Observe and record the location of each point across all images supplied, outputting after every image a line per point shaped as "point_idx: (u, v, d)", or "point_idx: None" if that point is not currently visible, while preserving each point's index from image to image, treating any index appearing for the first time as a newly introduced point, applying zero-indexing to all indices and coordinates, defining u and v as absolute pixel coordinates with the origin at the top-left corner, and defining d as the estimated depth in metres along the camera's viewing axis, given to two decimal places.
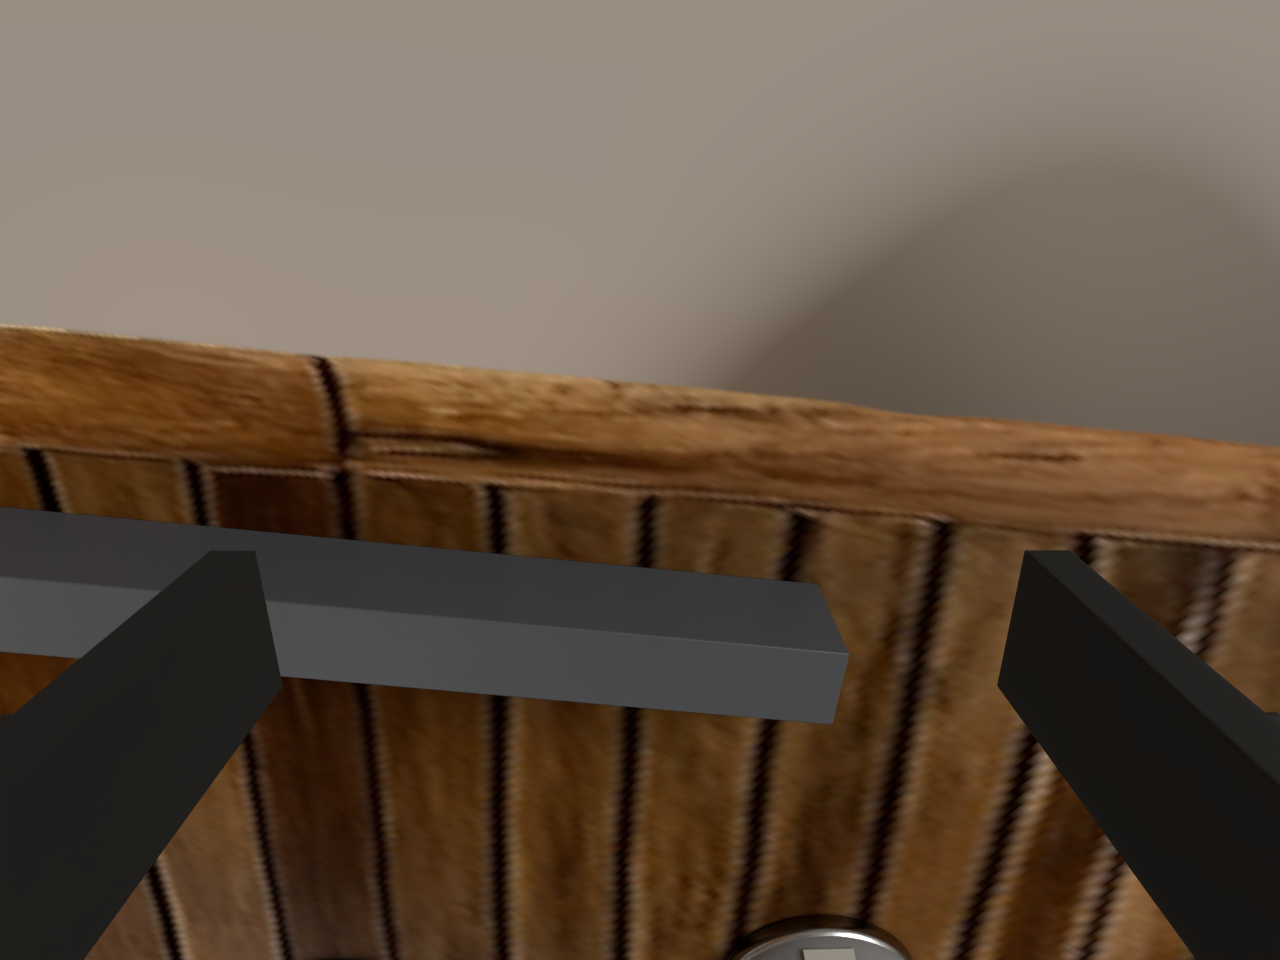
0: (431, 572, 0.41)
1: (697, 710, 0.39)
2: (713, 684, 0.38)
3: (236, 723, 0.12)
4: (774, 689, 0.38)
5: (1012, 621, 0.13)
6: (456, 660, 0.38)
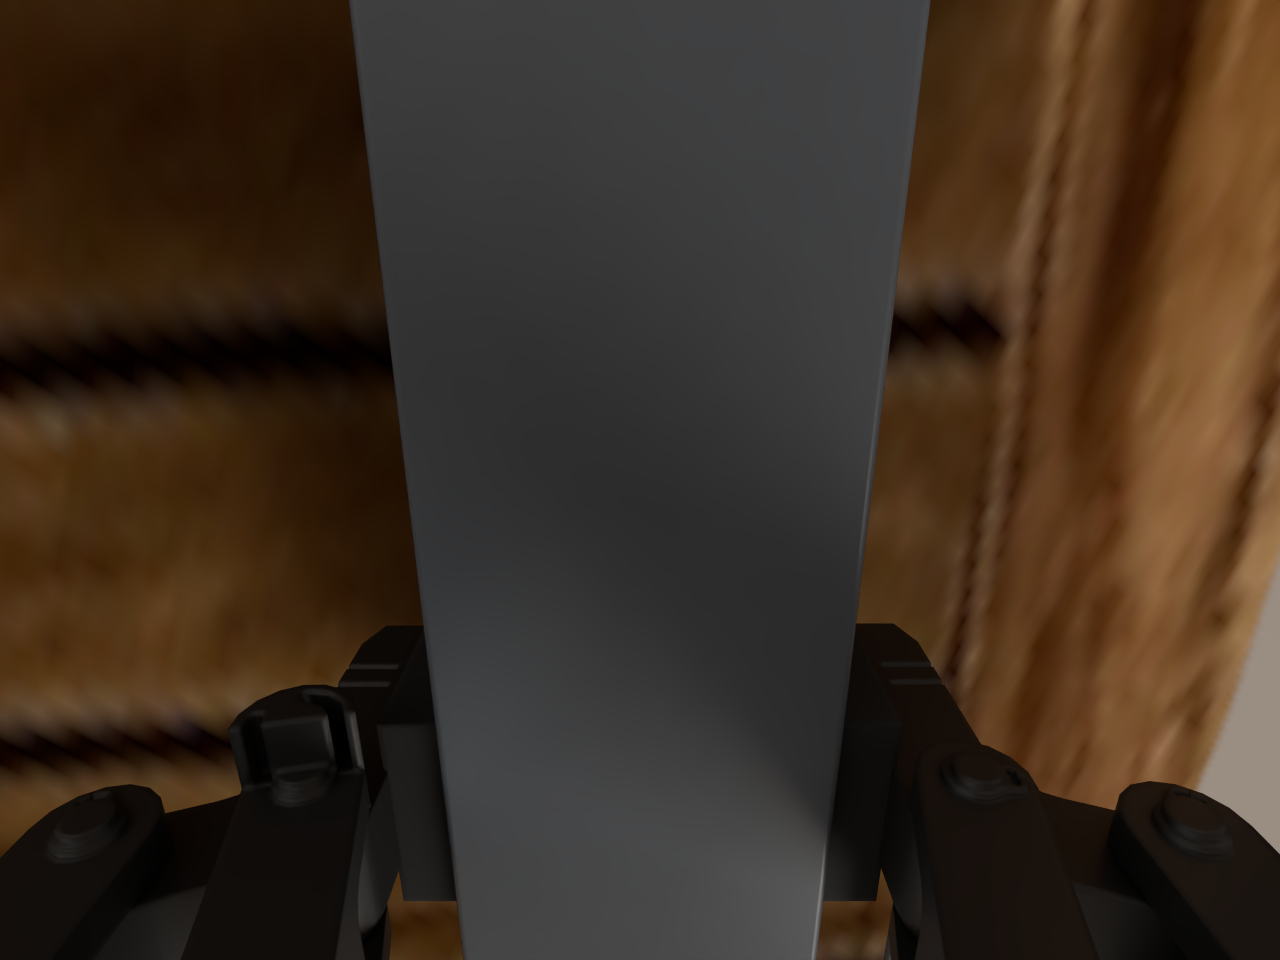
0: None
1: (453, 755, 0.08)
2: (608, 798, 0.08)
3: None
4: None
5: None
6: None
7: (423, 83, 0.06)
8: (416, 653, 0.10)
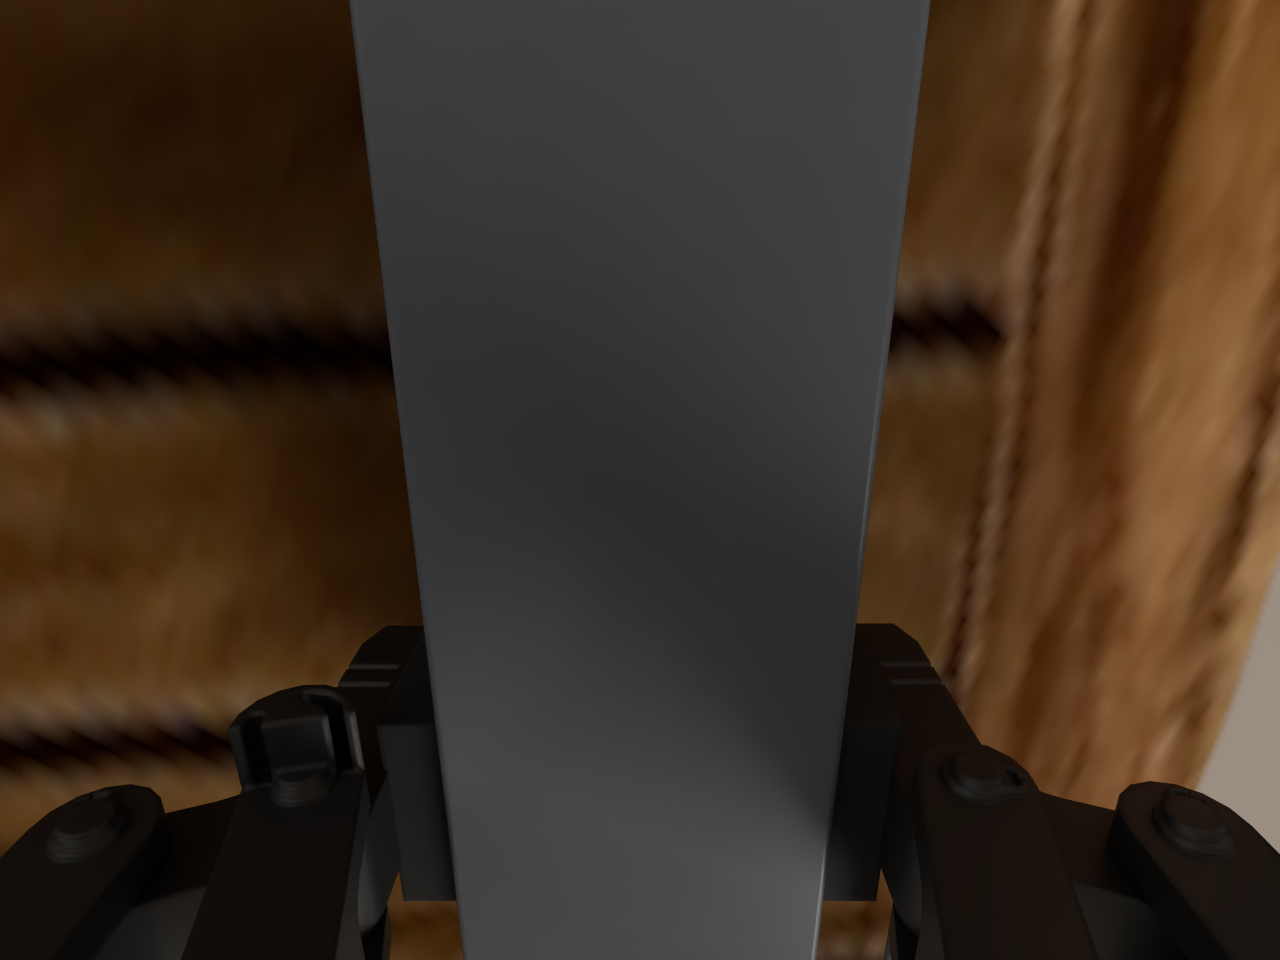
0: None
1: (453, 755, 0.08)
2: (608, 799, 0.08)
3: None
4: None
5: None
6: None
7: (423, 83, 0.06)
8: (416, 654, 0.10)
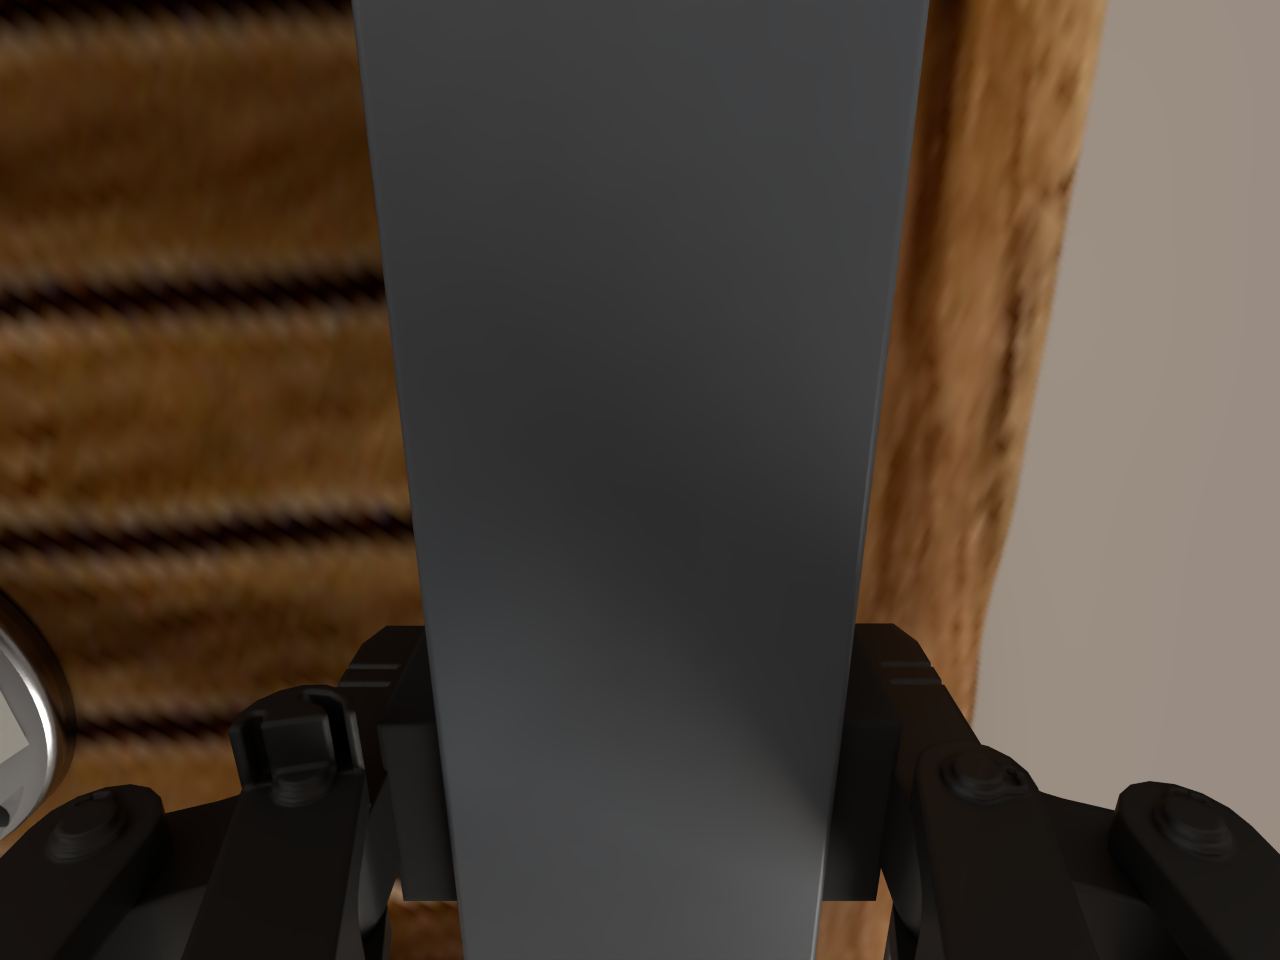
0: None
1: (454, 753, 0.08)
2: (608, 797, 0.08)
3: None
4: None
5: None
6: None
7: (425, 84, 0.06)
8: (416, 654, 0.10)
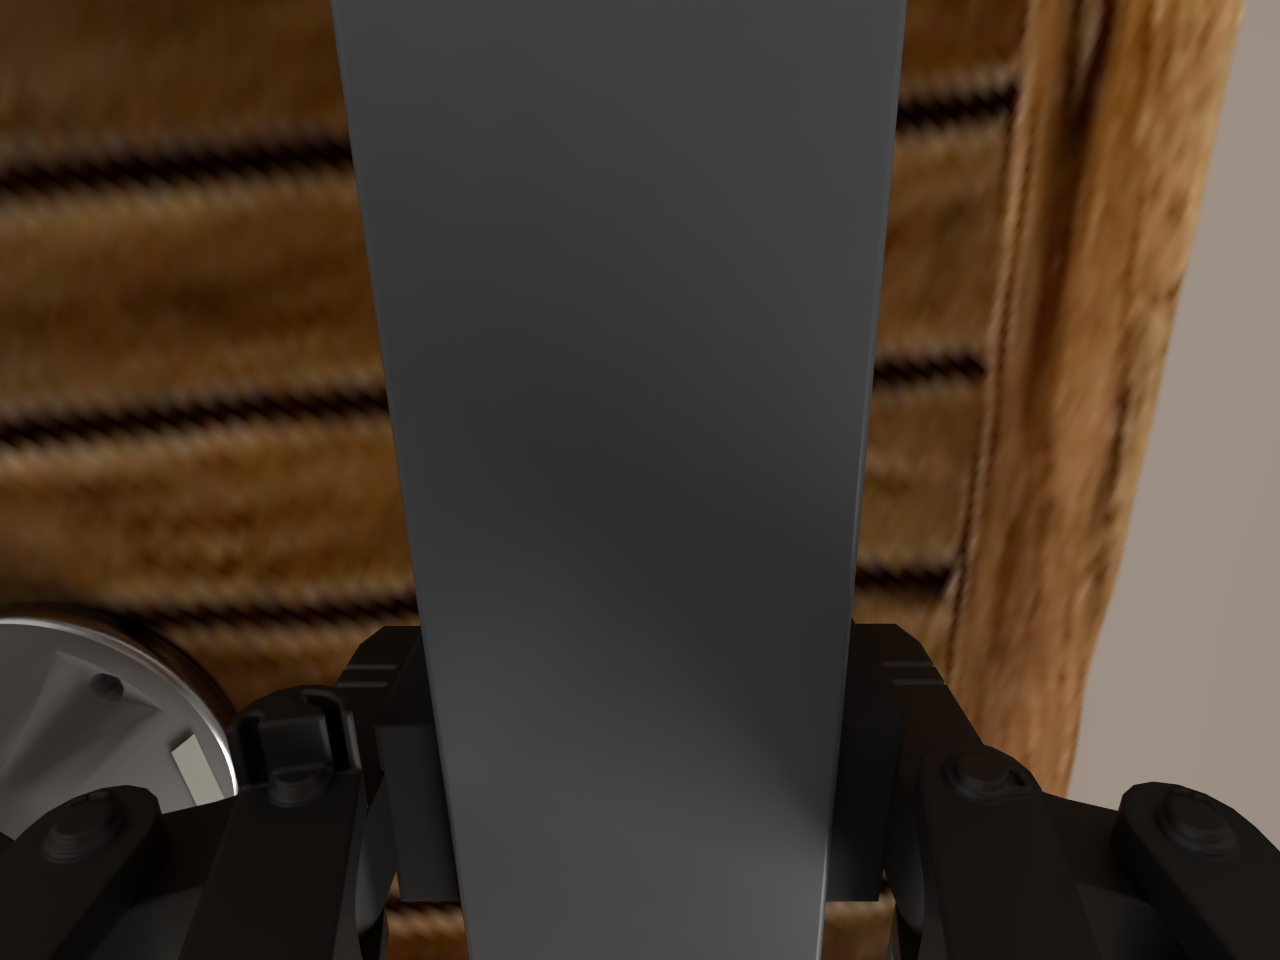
0: None
1: (454, 755, 0.08)
2: (609, 796, 0.08)
3: None
4: None
5: None
6: None
7: (406, 88, 0.06)
8: (414, 654, 0.10)
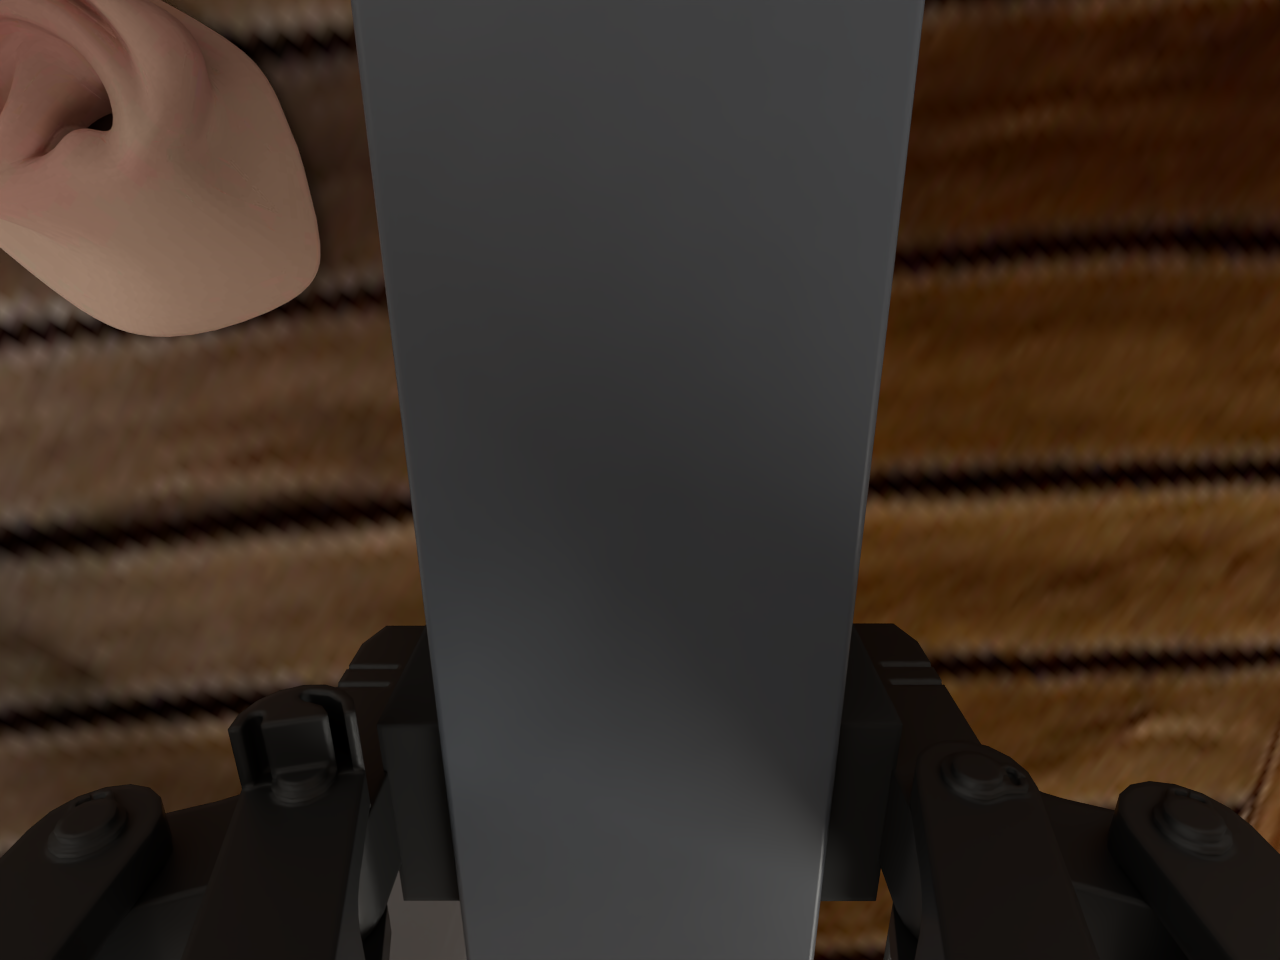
0: None
1: (454, 743, 0.08)
2: (608, 786, 0.08)
3: None
4: None
5: None
6: None
7: (423, 74, 0.06)
8: (416, 653, 0.10)
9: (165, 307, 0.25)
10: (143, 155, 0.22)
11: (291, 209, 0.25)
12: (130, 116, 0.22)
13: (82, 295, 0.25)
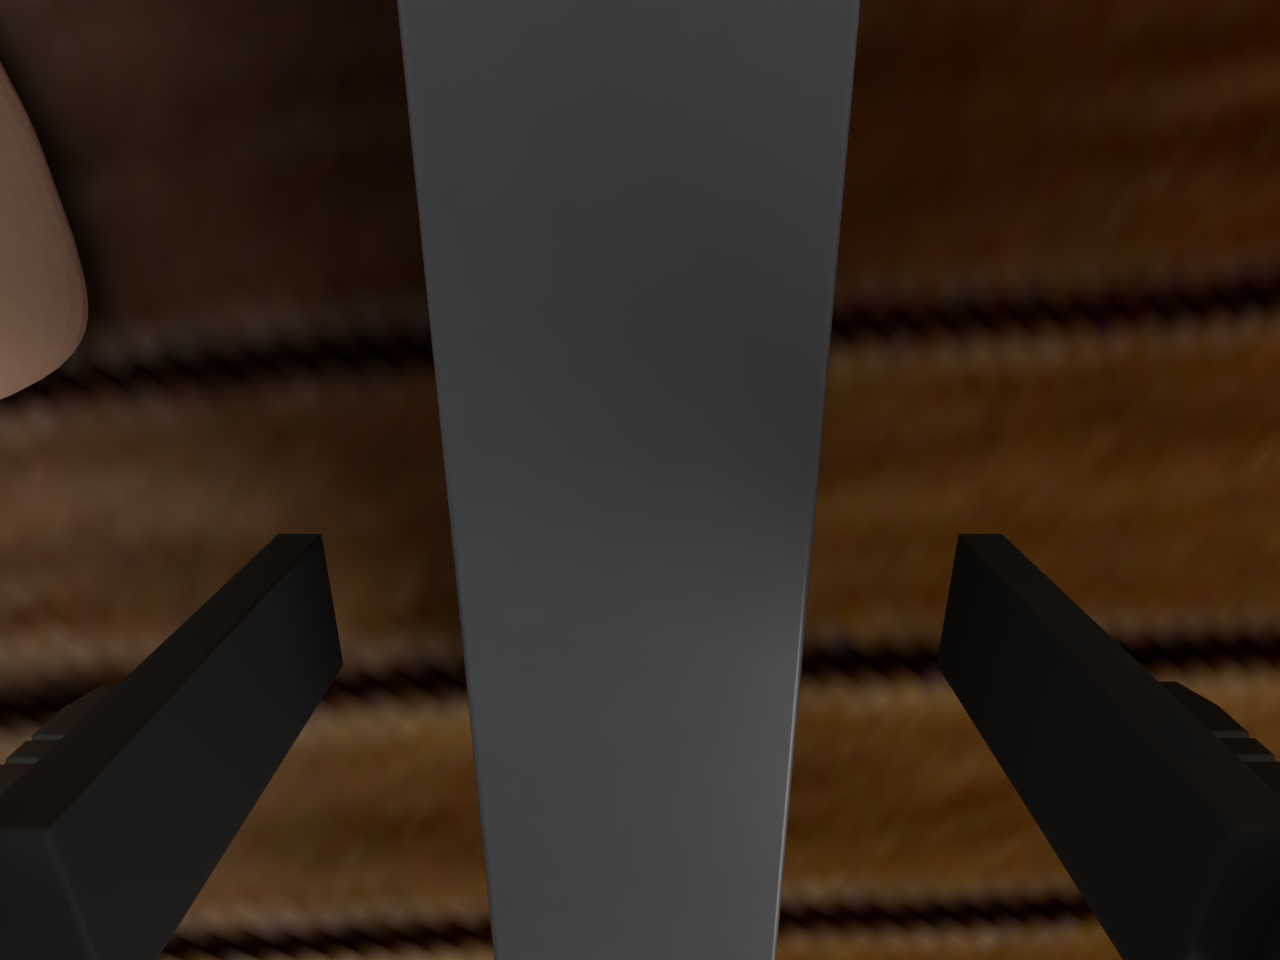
0: None
1: (476, 664, 0.10)
2: (606, 702, 0.10)
3: (306, 697, 0.13)
4: (612, 878, 0.11)
5: (950, 602, 0.14)
6: None
7: (459, 107, 0.07)
8: (75, 730, 0.08)
9: None
10: None
11: (18, 224, 0.14)
12: None
13: None
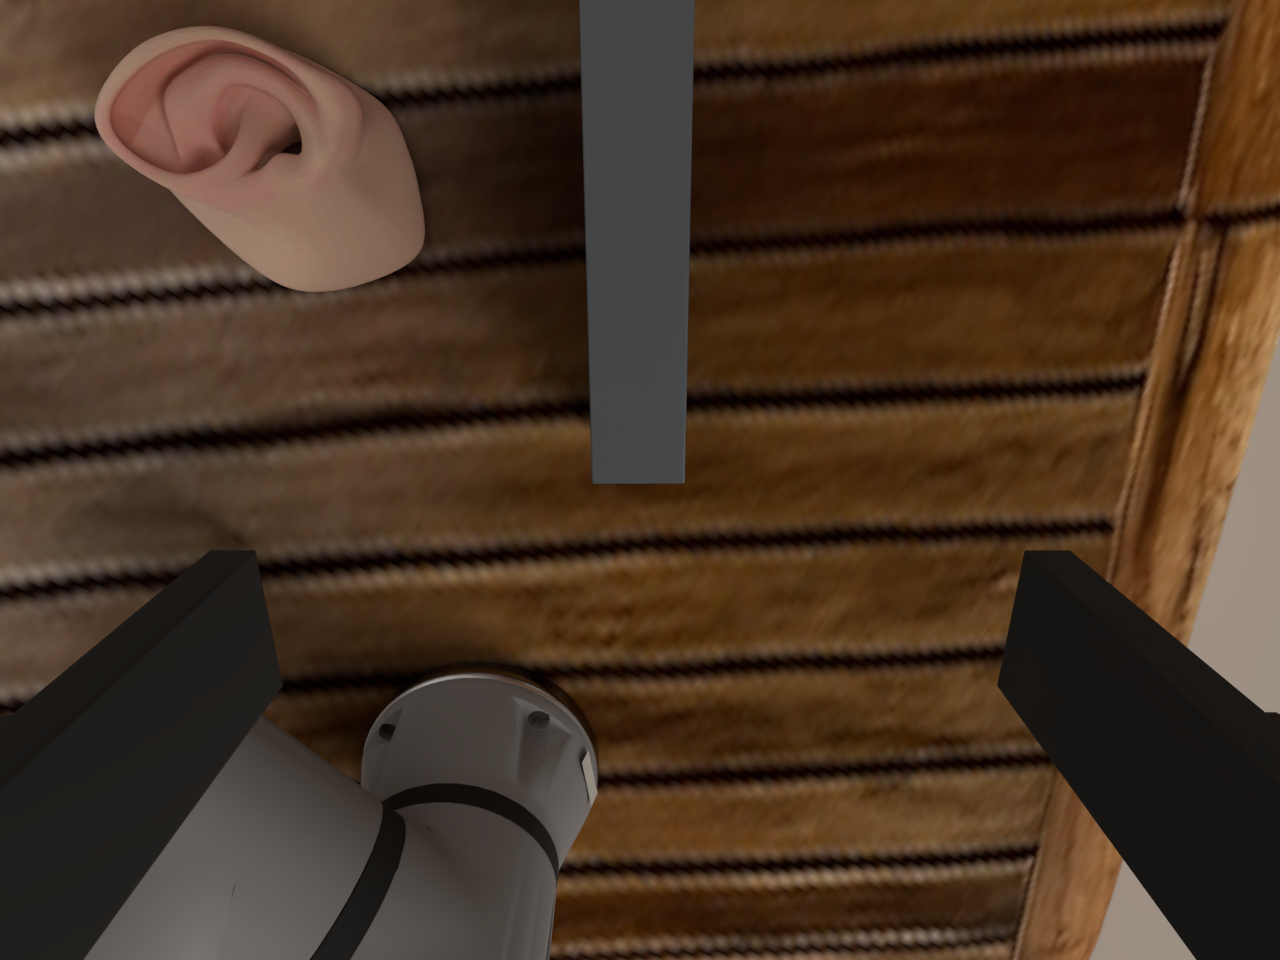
0: None
1: (591, 332, 0.33)
2: (630, 346, 0.33)
3: (236, 723, 0.12)
4: (631, 414, 0.34)
5: (1013, 621, 0.13)
6: (630, 2, 0.28)
7: (596, 173, 0.31)
8: None
9: (321, 270, 0.38)
10: (323, 170, 0.35)
11: (408, 205, 0.37)
12: (316, 145, 0.34)
13: (265, 262, 0.38)
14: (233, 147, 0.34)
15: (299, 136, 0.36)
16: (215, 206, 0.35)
